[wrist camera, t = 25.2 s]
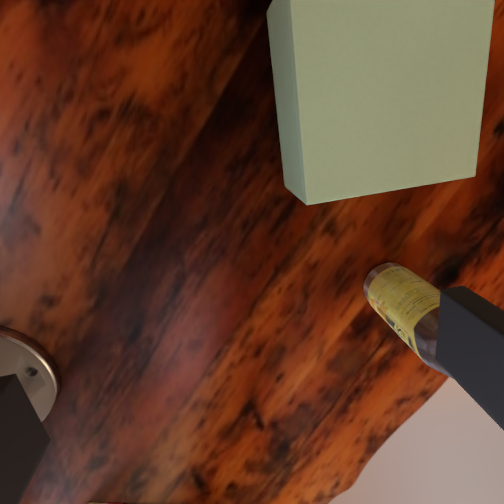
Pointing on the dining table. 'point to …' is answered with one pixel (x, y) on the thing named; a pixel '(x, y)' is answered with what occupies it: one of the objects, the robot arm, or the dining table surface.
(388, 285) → the sauce bottle
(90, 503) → the stack of blocks
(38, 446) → the robot arm
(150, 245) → the dining table surface
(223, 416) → the dining table surface
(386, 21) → the cabinet
